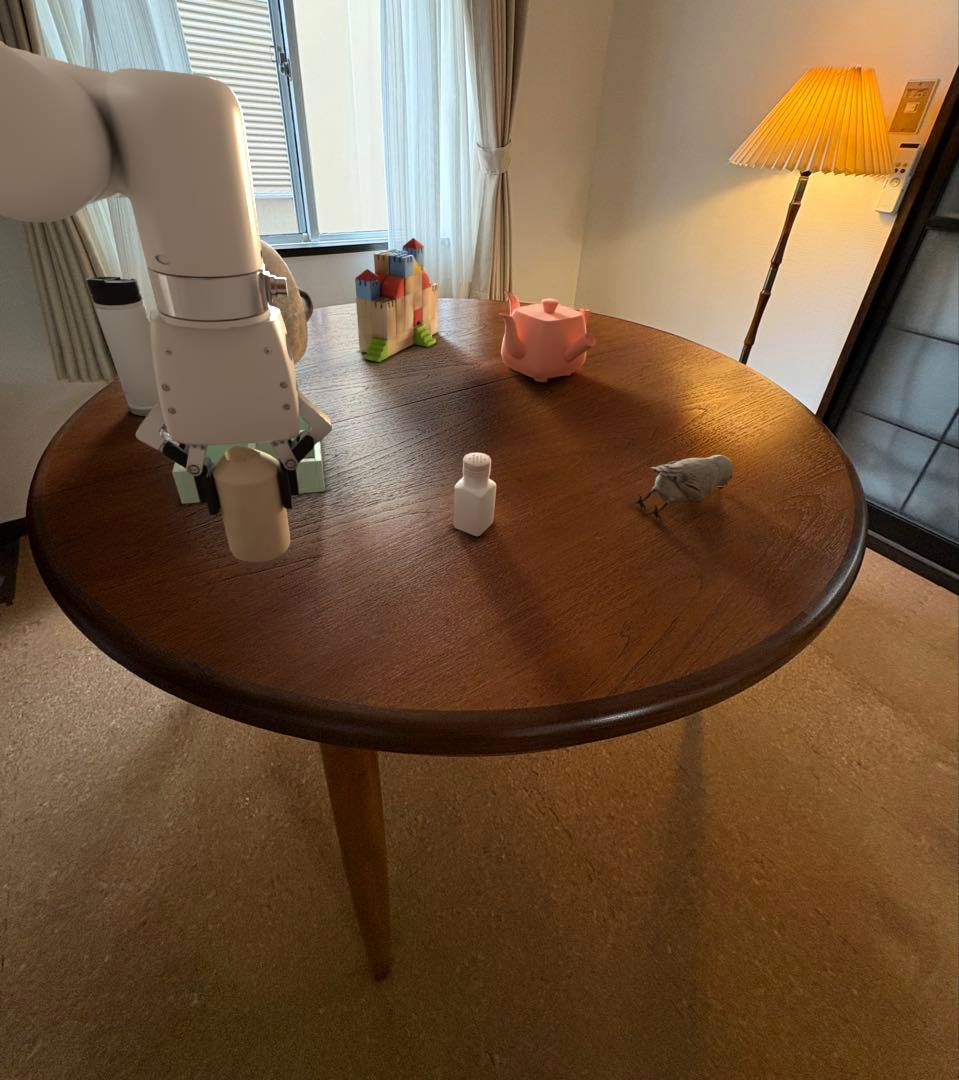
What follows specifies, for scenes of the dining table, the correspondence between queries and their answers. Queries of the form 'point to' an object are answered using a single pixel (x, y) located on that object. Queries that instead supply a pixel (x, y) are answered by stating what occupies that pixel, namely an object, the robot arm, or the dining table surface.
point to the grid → (307, 467)
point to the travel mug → (127, 338)
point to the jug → (289, 302)
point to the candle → (251, 504)
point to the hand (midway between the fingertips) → (252, 502)
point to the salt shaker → (474, 495)
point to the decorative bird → (689, 480)
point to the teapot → (545, 338)
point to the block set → (396, 303)
